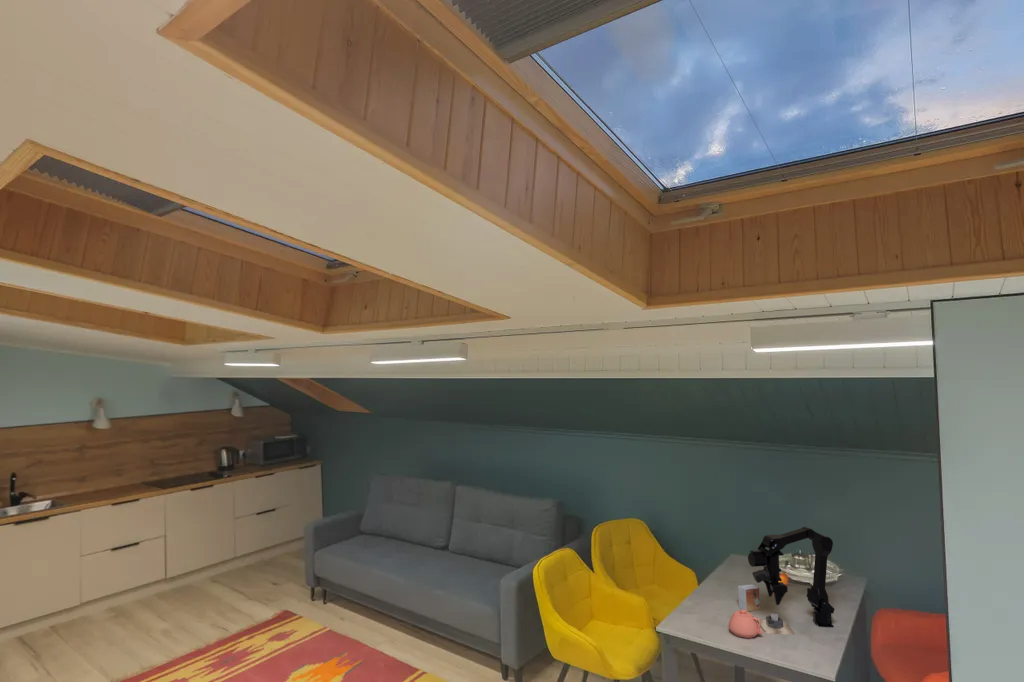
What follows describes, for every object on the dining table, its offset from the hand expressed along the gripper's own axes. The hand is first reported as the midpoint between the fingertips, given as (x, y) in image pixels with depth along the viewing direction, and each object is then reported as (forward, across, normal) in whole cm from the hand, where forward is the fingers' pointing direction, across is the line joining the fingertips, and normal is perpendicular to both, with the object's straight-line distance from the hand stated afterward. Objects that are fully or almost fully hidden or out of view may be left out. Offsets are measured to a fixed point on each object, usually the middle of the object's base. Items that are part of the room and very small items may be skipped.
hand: (773, 600), depth 249 cm
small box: (+12, -20, -5) cm, 24 cm away
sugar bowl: (+12, +8, -15) cm, 21 cm away
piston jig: (+12, 0, 0) cm, 12 cm away
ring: (+11, 0, 0) cm, 11 cm away
